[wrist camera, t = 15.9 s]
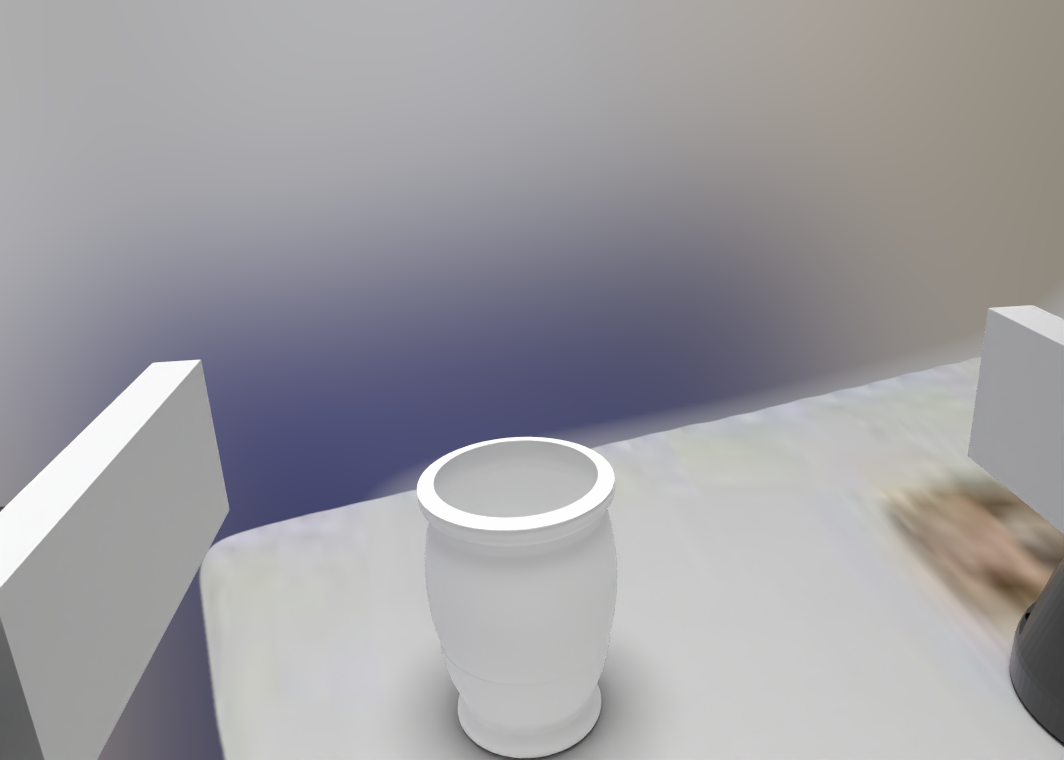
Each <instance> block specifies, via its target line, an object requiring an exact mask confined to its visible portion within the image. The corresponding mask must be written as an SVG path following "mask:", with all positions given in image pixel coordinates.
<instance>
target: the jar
mask: <svg viewBox="0 0 1064 760" xmlns="http://www.w3.org/2000/svg"><path fill="white" fill-rule="evenodd" d="M614 492H615V481H614V472H613V469H612V467H611V465H610V464H609V463H608V461H607V460H606V459H605V458H604V457H602V456H601V455H600V454H598V453H597V452H595V451H593V450H591V449H589V448H587V447H584V446H582V445H579V444H576V443H572V442H568V441H564V440H558V439H552V438H541V437H514V438H503V439H496V440H490V441H485V442H481V443H476V444H473V445H469V446H466V447H463V448H461V449H458V450H455V451H453V452H451V453H449V454H447V455H445V456H443V457H442V458H440V459H438V460H437V461H435V462H434V463H432V464H431V465H430V466H429V467H428V468H427V469H426V470H425V471H424V473H423V474H422V475H421V477H420V479H419V481H418V485H417V494H418V503H419V507H420V510H421V512H422V514H423V515H424V517H425V518H426V519H427V521H428V522H429V523H428V528H427V535H426V547H425V577H426V588H427V596H428V602H429V607H430V612H431V616H432V619H433V623H434V626H435V629H436V632H437V635H438V638H439V640H440V644H441V649H442V653H443V657H444V661H445V664H446V667H447V669H448V672H449V675H450V677H451V679H452V681H453V683H454V685H455V687H456V688H457V690H458V692H459V693H460V695H459V699H458V717H459V721H460V723H461V726H462V728H463V729H464V731H465V732H466V734H467V735H468V736H469V737H470V738H471V739H472V740H473V741H474V742H475V743H476V744H478V745H479V746H481V747H483V748H484V749H486V750H488V751H490V752H493V753H496V754H499V755H502V756H507V757H514V758H536V757H543V756H548V755H551V754H554V753H558V752H560V751H563V750H565V749H567V748H569V747H571V746H573V745H574V744H576V743H577V742H579V741H580V740H581V739H582V738H584V737H585V736H586V735H587V734H588V733H589V732H590V730H591V729H592V728H593V726H594V725H595V723H596V721H597V719H598V717H599V714H600V710H601V693H600V689H599V686H598V684H597V682H598V680H599V678H600V676H601V673H602V670H603V667H604V664H605V661H606V657H607V652H608V646H609V639H610V631H611V627H612V622H613V616H614V610H615V603H616V593H617V558H616V548H615V541H614V534H613V529H612V524H611V520H610V516H609V513H608V510H607V508H608V507H609V505H610V503H611V502H612V499H613V496H614Z"/></svg>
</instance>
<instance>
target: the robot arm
mask: <svg viewBox="0 0 1064 760" xmlns="http://www.w3.org/2000/svg"><path fill="white" fill-rule="evenodd" d="M968 456H969V457H970V458H971V459H972V460H973V461H975V462H976V463H977V464H978V465H980V466H981V467H982V468H983V469H984V470H986V471H987V472H988V473H989V474H991V475H992V476H993V477H994V478H996V479H997V480H998V481H999V482H1000V483H1002V484H1003V485H1004V486H1005V487H1007V488H1008V489H1009V490H1010V491H1011V492H1013V493H1014V494H1015V495H1016V496H1018V497H1019V498H1020V499H1021V500H1023V501H1024V502H1025V503H1026V504H1027V505H1029V506H1030V507H1031V508H1032V509H1034V510H1035V511H1036V512H1037V513H1038V514H1040V515H1041V516H1042V517H1043V518H1045V519H1046V520H1047V521H1048V522H1050V523H1051V524H1052V525H1053V526H1054V527H1056V528H1057V529H1058V530H1059V531H1061V532H1062V533H1063V534H1064V319H1062V318H1059V317H1057V316H1055V315H1053V314H1051V313H1048V312H1046V311H1044V310H1042V309H1039V308H1037V307H1035V306H1033V305H1029V306H1014V307H999V308H988V314H987V321H986V329H985V336H984V343H983V350H982V358H981V365H980V372H979V379H978V386H977V394H976V401H975V408H974V415H973V423H972V430H971V437H970V444H969V451H968ZM228 511H229V505H228V500H227V495H226V489H225V484H224V479H223V474H222V468H221V463H220V458H219V453H218V447H217V442H216V437H215V431H214V426H213V421H212V416H211V410H210V405H209V400H208V395H207V389H206V385H205V379H204V374H203V368H202V363H201V360H191V361H175V362H159V363H152V364H151V365H150V366H149V367H148V368H147V369H146V370H145V372H143V373H142V374H141V375H140V376H139V377H138V378H137V379H136V380H135V381H134V382H133V383H132V384H131V385H130V386H129V387H128V388H127V389H126V390H125V391H124V392H123V393H122V394H121V395H120V396H119V397H118V398H116V399H115V400H114V401H113V402H112V403H111V404H110V405H109V406H108V407H107V408H106V409H105V410H104V411H103V412H102V413H101V414H100V415H99V416H98V417H97V418H96V419H95V420H94V421H93V422H92V423H91V424H90V425H89V426H88V427H87V428H86V429H85V430H84V431H83V432H82V433H81V434H80V435H78V436H77V437H76V438H75V439H74V440H73V441H72V442H71V443H70V444H69V445H68V446H67V447H66V448H65V449H64V450H63V451H62V452H61V453H60V454H59V455H58V456H57V457H56V458H55V459H54V460H53V461H52V462H51V463H50V464H49V465H48V466H47V467H46V468H45V469H44V470H43V471H42V472H41V473H39V474H38V475H37V476H36V477H35V478H34V479H33V481H31V482H30V483H29V484H28V485H27V486H26V487H25V488H24V489H23V490H22V491H21V492H20V493H19V494H18V495H17V496H16V497H15V498H14V499H13V500H12V501H11V502H10V503H9V504H8V505H7V506H6V507H0V760H97V759H98V757H99V755H100V753H101V751H102V749H103V747H104V746H105V744H106V742H107V740H108V738H109V736H110V734H111V732H112V730H113V729H114V727H115V725H116V723H117V720H118V719H119V717H120V715H121V713H122V711H123V710H124V708H125V706H126V704H127V702H128V700H129V698H130V696H131V694H132V693H133V691H134V689H135V687H136V685H137V683H138V681H139V679H140V678H141V676H142V674H143V672H144V670H145V668H146V666H147V664H148V662H149V661H150V659H151V657H152V655H153V653H154V651H155V649H156V647H157V645H158V644H159V642H160V640H161V638H162V636H163V634H164V632H165V630H166V629H167V626H168V625H169V623H170V621H171V619H172V617H173V615H174V613H175V612H176V610H177V608H178V606H179V604H180V602H181V600H182V598H183V596H184V595H185V593H186V591H187V589H188V587H189V585H190V583H191V581H192V579H193V578H194V576H195V574H196V572H197V570H198V568H199V566H200V564H201V562H202V561H203V559H204V557H205V555H206V553H207V551H208V549H209V547H210V545H211V544H212V542H213V540H214V538H215V536H216V534H217V532H218V530H219V528H220V527H221V524H222V523H223V521H224V519H225V517H226V515H227V513H228ZM1010 674H1011V679H1012V682H1013V685H1014V687H1015V689H1016V691H1017V693H1018V695H1019V697H1020V699H1021V700H1022V702H1023V703H1024V705H1025V706H1026V707H1027V708H1028V710H1029V711H1030V712H1031V713H1032V715H1033V716H1034V717H1035V718H1036V719H1037V720H1038V721H1039V722H1040V723H1041V724H1042V725H1043V726H1044V727H1045V728H1046V729H1047V730H1048V731H1050V732H1051V733H1052V734H1053V735H1054V736H1055V737H1057V738H1058V739H1059V740H1060V741H1062V742H1063V743H1064V556H1063V558H1062V559H1061V561H1060V562H1059V564H1058V566H1057V567H1056V569H1055V570H1054V572H1053V574H1052V575H1051V577H1050V579H1049V581H1048V583H1047V585H1046V586H1045V588H1044V590H1043V591H1042V593H1041V595H1040V597H1039V598H1038V600H1037V601H1036V602H1035V603H1034V604H1032V605H1031V606H1030V607H1029V608H1028V609H1027V611H1026V612H1025V613H1024V615H1023V616H1022V618H1021V619H1020V621H1019V624H1018V626H1017V629H1016V631H1015V636H1014V642H1013V648H1012V653H1011V659H1010Z"/></svg>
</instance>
